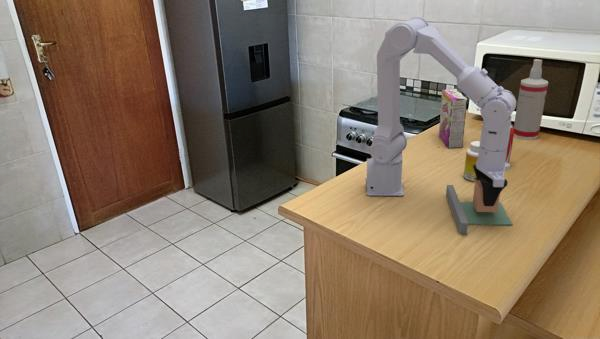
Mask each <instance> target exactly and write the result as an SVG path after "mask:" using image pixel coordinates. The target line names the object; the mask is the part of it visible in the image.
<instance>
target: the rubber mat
mask: <svg viewBox="0 0 600 339" xmlns="http://www.w3.org/2000/svg"><path fill="white" fill-rule="evenodd" d="M460 204H461V206H462V209H463V211H464V214H465V216H466V219H467V221H468V226H504V227H505V226H508V227H509V226H510V227H511V226H513V222H512V219H510V216H509V214H508V213H507V211H506V210H505V208H504V206H503V204H502V202H501V201H499V204H498V211H497V212H477V211H476V209H475V206H474V204H473V201H460Z"/></svg>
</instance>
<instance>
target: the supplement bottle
mask: <svg viewBox="0 0 600 339" xmlns="http://www.w3.org/2000/svg"><path fill="white" fill-rule="evenodd" d="M479 146H480V140H474V141H471V142H470V146H469V148H468V149H466V155H465V162H464V172H463V177H464V179H466V180H468V181H471V182H475V180H477V179H476V174H475V171H474V169H473V165H476V163H477V160H478V153H479Z"/></svg>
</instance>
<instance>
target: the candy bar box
mask: <svg viewBox="0 0 600 339" xmlns="http://www.w3.org/2000/svg"><path fill="white" fill-rule="evenodd" d="M440 99H441V101H440V102H441V103H440V114H439V115H440V117H439V128H438V129H439V130H438V132H439V133H438V137H439V138H440V139H441V141H442V142H443V143H444V145H445V146H446V148H448V149H458V148H460V149H461V148H463V144H464V136H465V126H466V115H467V105H468V97H467V96H465V95H463V94H462V93H461V92H460V90H458V89H457V88H449V89H441V98H440Z"/></svg>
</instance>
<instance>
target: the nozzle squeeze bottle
mask: <svg viewBox="0 0 600 339" xmlns="http://www.w3.org/2000/svg"><path fill="white" fill-rule="evenodd" d="M542 65H543V59H539V58H538V59H537V58H535V59H533V64H532V66H531V69H530V73H529V77H527V78H524V79H521V80H520V85H519V91H518V97H517V98H518V99H517V102H516V108H515V109H516V112H515V117H514V122H513V127H512V128H513V131H514V137H515V138H516V139H519V140H526V141H528V140H529V141H530V140H536V139H538V138H539V134H540V130H541V124H542V118H543V113H544V108H545V101H546V98H547V92H548V87H549V81H548V80H546V79H544V78H542V75H543V74H542V73H543V69H542ZM514 137H513V138H514Z"/></svg>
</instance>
